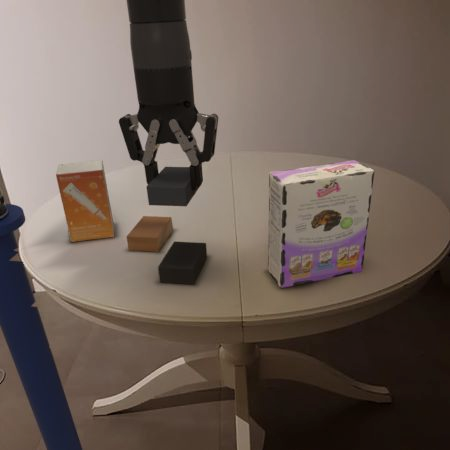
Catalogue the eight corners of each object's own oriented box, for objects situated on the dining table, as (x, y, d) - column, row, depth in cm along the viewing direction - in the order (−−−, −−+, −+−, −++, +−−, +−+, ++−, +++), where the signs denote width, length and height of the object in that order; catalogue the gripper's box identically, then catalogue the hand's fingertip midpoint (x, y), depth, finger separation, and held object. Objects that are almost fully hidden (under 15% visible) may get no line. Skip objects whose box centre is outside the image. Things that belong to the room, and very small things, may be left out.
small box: (71, 243, 87) (54, 174, 80) (72, 229, 92) (56, 163, 85) (115, 237, 88) (102, 169, 81) (114, 224, 93) (102, 158, 86)
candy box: (345, 257, 78) (355, 158, 69) (363, 273, 73) (377, 169, 64) (266, 271, 75) (267, 169, 66) (280, 289, 70) (283, 182, 61)
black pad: (194, 284, 72) (192, 269, 71) (159, 282, 73) (157, 267, 72) (207, 257, 80) (206, 242, 78) (175, 255, 81) (174, 241, 79)
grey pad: (186, 206, 66) (184, 187, 64) (148, 205, 67) (146, 186, 65) (201, 184, 73) (200, 167, 72) (167, 184, 74) (165, 166, 73)
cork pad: (158, 252, 82) (156, 237, 81) (128, 250, 83) (126, 236, 82) (173, 230, 90) (171, 216, 88) (145, 229, 91) (143, 215, 89)
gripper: (98, 67, 59) (120, 196, 68) (210, 64, 56) (217, 199, 65) (120, 60, 65) (138, 179, 74) (222, 57, 62) (227, 181, 71)
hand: (175, 188), depth 70 cm, fingers closed on grey pad, 5 cm apart
